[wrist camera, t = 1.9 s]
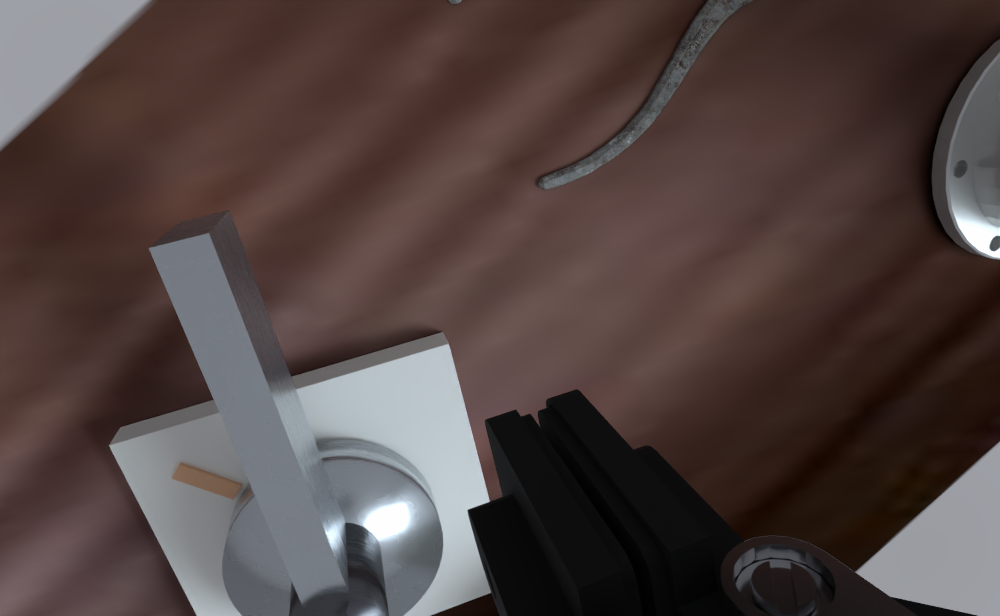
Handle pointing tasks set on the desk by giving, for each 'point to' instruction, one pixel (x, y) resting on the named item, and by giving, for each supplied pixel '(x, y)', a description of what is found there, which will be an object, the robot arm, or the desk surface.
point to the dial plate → (331, 416)
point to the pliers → (694, 40)
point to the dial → (293, 457)
